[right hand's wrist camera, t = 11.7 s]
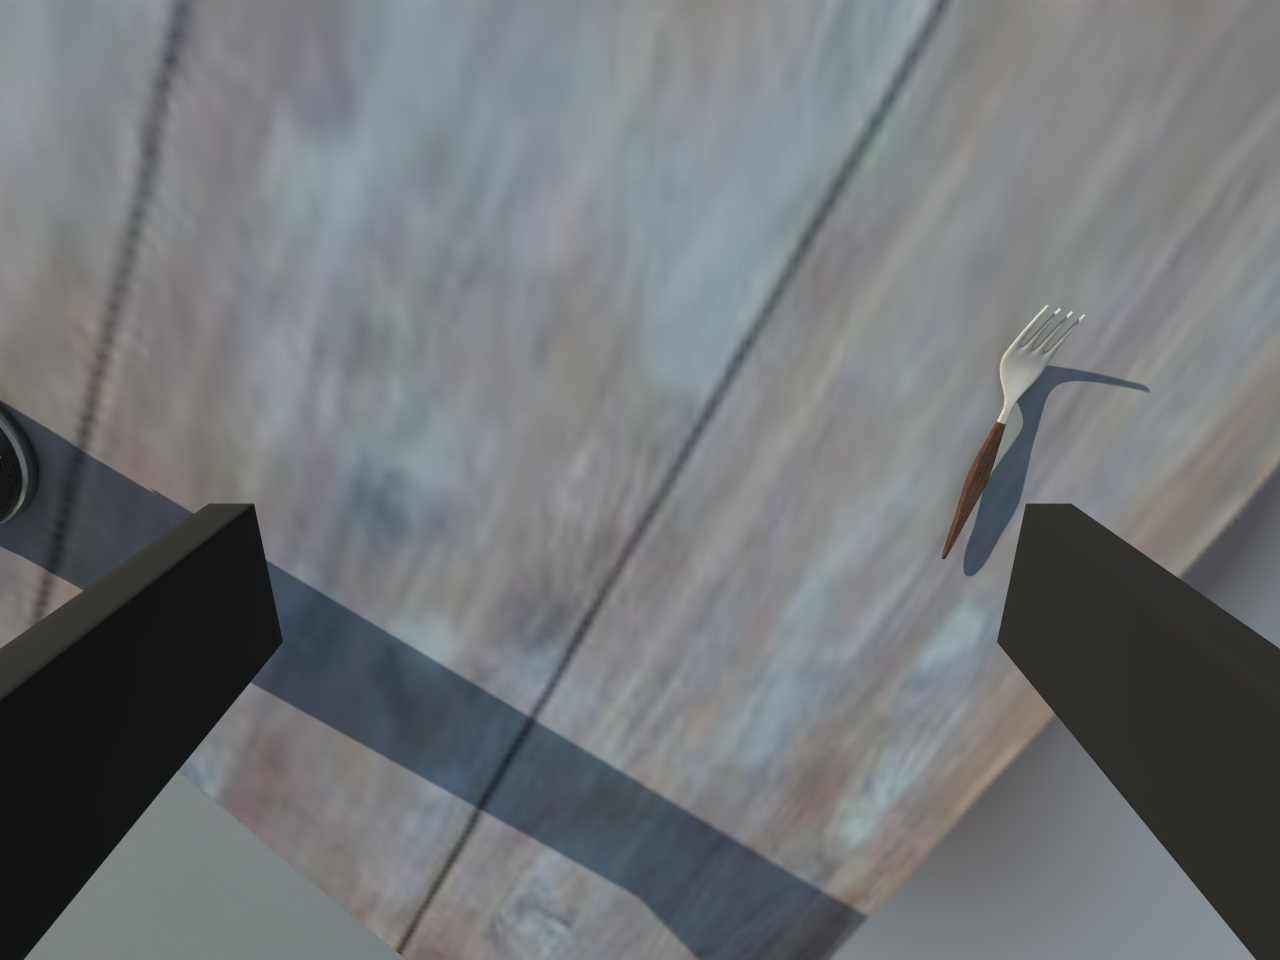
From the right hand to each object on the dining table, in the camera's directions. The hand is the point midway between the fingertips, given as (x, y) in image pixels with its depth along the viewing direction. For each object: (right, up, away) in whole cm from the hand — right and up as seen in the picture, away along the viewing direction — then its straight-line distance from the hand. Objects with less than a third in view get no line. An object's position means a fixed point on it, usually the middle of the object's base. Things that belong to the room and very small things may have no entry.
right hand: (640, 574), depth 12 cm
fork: (+21, +4, +30) cm, 37 cm away
